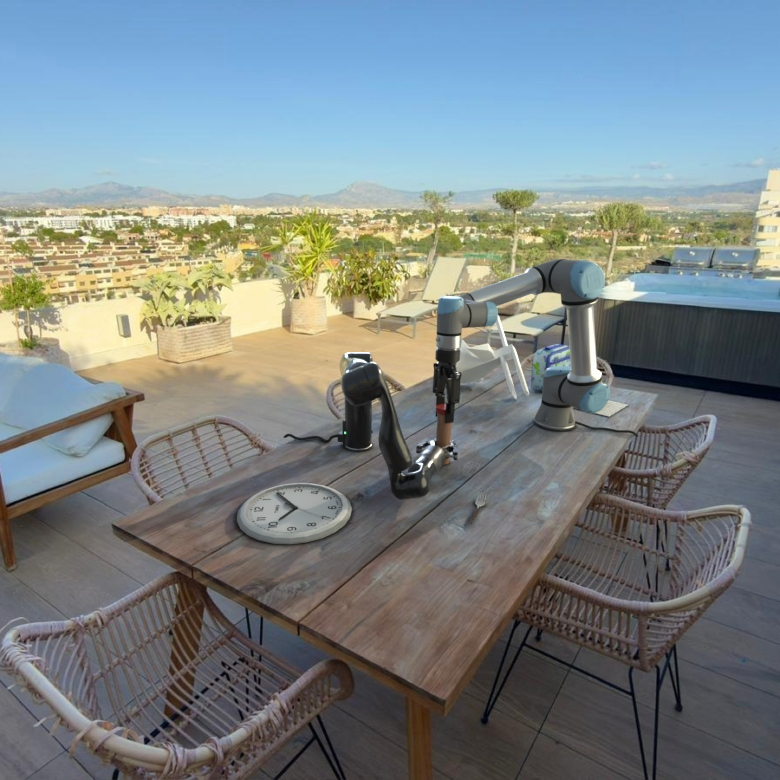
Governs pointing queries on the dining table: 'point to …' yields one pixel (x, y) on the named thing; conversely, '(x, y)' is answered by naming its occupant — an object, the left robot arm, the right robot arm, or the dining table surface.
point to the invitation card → (611, 408)
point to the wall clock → (294, 513)
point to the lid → (441, 409)
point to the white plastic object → (489, 362)
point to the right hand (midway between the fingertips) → (444, 419)
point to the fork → (478, 503)
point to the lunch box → (548, 362)
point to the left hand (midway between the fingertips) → (445, 441)
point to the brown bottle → (443, 433)
